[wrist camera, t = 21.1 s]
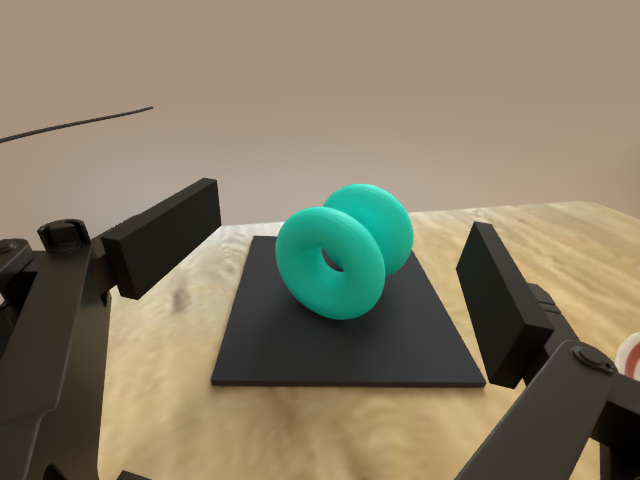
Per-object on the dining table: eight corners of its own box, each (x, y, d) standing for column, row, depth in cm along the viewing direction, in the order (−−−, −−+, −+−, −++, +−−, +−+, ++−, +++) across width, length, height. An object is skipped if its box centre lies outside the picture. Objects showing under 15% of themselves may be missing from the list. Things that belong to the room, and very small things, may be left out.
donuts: (404, 283, 31) (429, 195, 26) (364, 346, 24) (388, 240, 19) (324, 251, 36) (332, 169, 31) (269, 296, 28) (267, 198, 23)
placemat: (254, 239, 38) (253, 235, 38) (406, 245, 40) (407, 242, 39) (211, 385, 21) (210, 380, 21) (484, 387, 22) (487, 382, 22)
